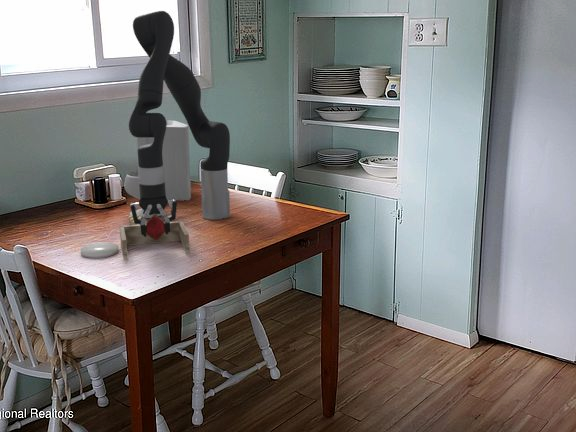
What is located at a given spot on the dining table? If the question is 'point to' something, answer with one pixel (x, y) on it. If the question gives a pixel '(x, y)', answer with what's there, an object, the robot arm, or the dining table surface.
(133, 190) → the chalice
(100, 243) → the white flat disc
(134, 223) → the ammunition
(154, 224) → the onion
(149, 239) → the wooden plank arch
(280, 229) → the dining table surface
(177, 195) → the tall white box
